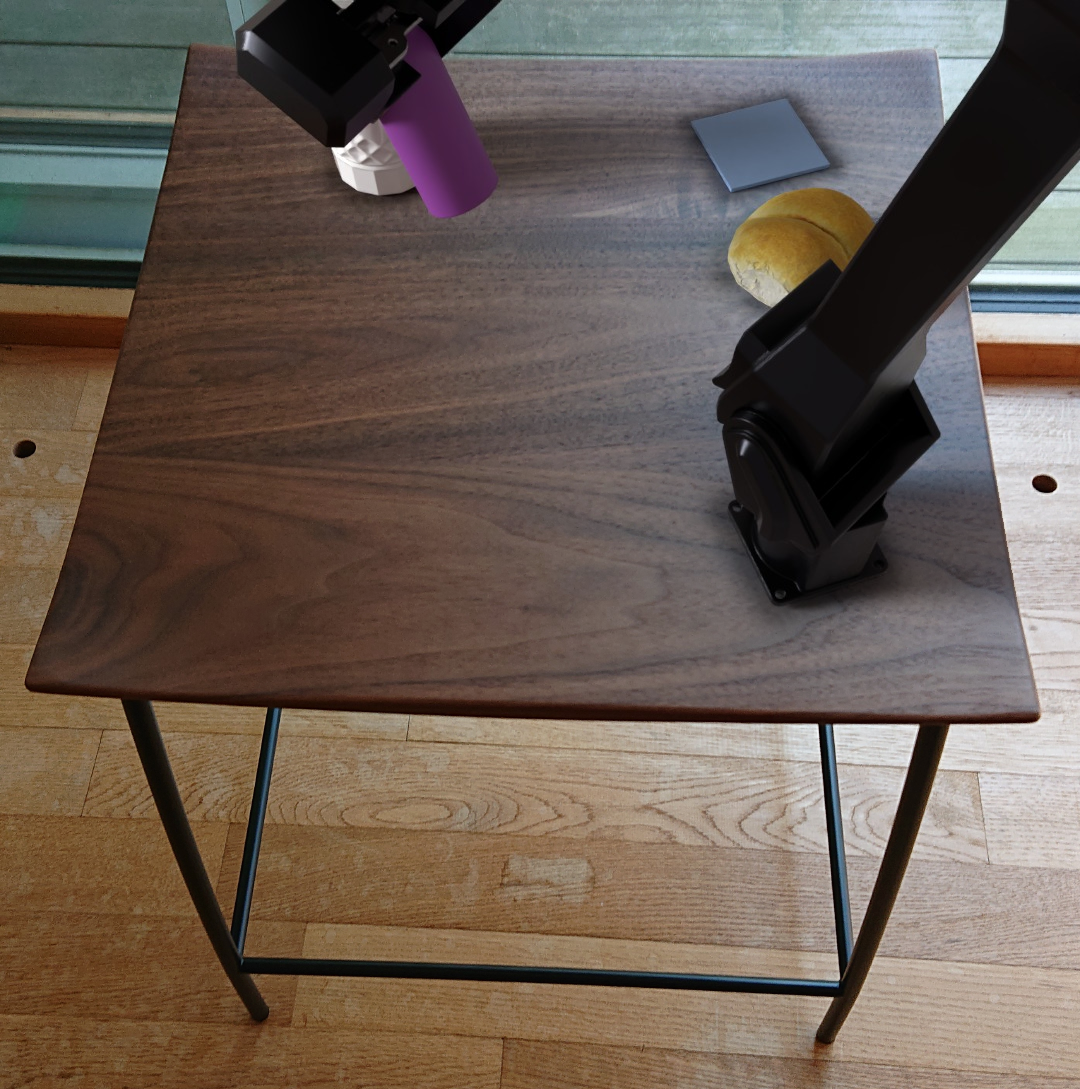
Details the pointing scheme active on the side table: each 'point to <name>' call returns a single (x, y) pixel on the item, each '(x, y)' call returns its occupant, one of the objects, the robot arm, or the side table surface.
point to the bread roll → (796, 240)
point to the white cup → (372, 158)
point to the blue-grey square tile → (759, 145)
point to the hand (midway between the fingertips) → (395, 89)
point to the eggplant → (438, 136)
